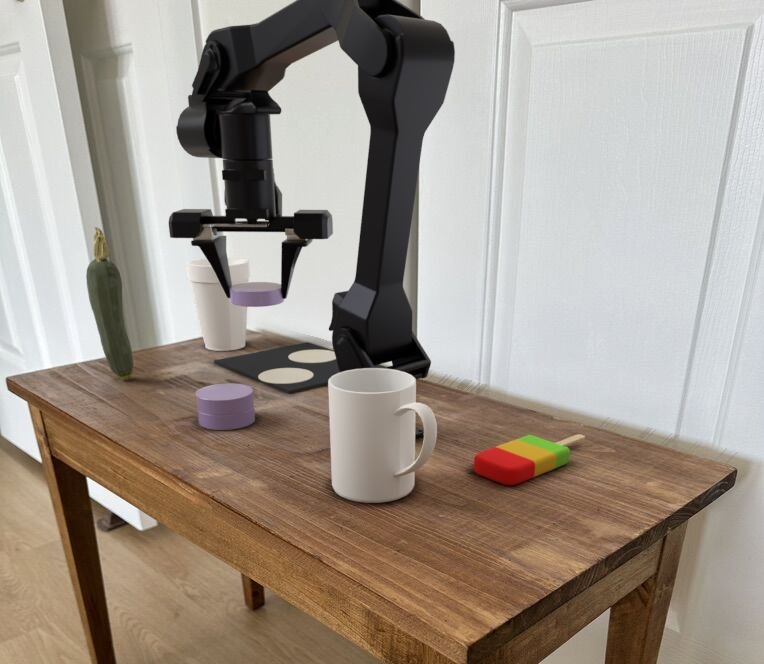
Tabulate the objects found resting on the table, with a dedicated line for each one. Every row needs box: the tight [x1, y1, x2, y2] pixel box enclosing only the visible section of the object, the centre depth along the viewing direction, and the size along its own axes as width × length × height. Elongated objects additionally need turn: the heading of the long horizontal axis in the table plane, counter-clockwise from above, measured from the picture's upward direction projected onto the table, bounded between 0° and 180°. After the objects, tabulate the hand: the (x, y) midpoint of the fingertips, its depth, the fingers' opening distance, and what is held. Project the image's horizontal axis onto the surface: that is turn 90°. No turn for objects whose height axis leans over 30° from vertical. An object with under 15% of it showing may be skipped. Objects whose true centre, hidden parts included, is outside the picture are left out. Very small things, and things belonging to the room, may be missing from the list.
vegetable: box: [85, 226, 134, 381], centre depth 100 cm, size 4×4×20 cm
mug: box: [327, 368, 438, 504], centre depth 69 cm, size 12×8×10 cm, turn 38°
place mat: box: [213, 341, 386, 394], centre depth 111 cm, size 20×17×1 cm
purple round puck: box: [229, 281, 285, 308], centre depth 94 cm, size 7×7×2 cm
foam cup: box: [185, 257, 251, 352], centre depth 119 cm, size 10×9×13 cm
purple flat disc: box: [196, 405, 256, 431], centre depth 89 cm, size 7×7×2 cm
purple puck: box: [194, 382, 255, 415], centre depth 89 cm, size 7×7×2 cm
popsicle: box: [473, 433, 586, 486], centre depth 78 cm, size 6×15×2 cm, turn 131°
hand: (257, 297), depth 94 cm, fingers closed on purple round puck, 6 cm apart
